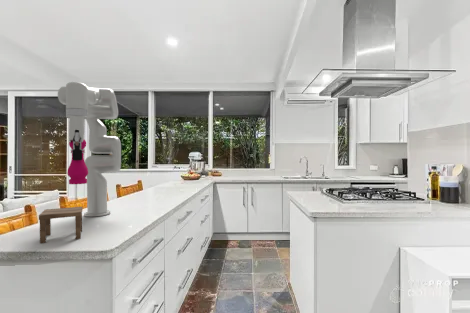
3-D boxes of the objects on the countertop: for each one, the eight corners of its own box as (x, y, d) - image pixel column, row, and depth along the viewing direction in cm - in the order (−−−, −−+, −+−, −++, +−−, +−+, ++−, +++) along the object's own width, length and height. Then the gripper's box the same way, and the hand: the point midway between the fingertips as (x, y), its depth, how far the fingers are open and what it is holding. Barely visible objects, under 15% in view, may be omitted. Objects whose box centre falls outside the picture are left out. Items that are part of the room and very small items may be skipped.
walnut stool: (45, 234, 111) (45, 209, 111) (82, 230, 116) (82, 206, 117) (39, 243, 99) (38, 215, 99) (81, 238, 105) (80, 211, 105)
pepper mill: (79, 184, 107) (79, 132, 107) (63, 184, 108) (62, 132, 108) (92, 182, 114) (91, 133, 114) (76, 182, 115) (76, 134, 116)
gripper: (67, 116, 117) (68, 160, 117) (64, 110, 102) (65, 160, 102) (87, 117, 121) (88, 160, 121) (87, 111, 106) (88, 160, 105)
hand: (77, 159), depth 111 cm, fingers closed on pepper mill, 5 cm apart
